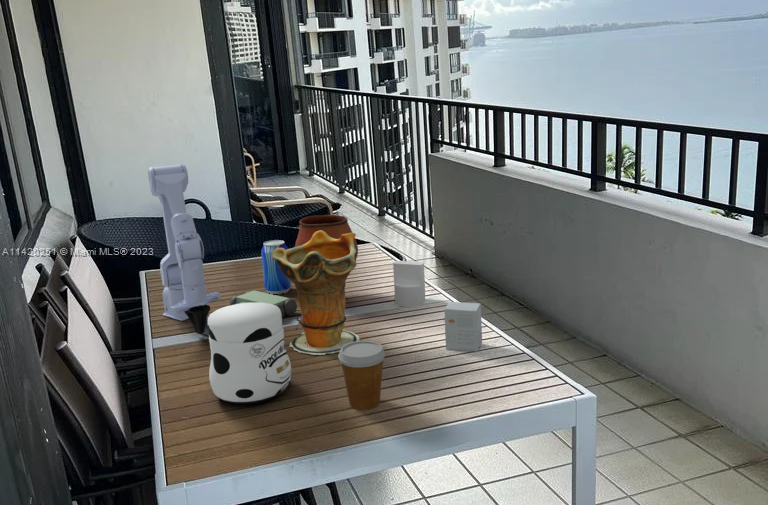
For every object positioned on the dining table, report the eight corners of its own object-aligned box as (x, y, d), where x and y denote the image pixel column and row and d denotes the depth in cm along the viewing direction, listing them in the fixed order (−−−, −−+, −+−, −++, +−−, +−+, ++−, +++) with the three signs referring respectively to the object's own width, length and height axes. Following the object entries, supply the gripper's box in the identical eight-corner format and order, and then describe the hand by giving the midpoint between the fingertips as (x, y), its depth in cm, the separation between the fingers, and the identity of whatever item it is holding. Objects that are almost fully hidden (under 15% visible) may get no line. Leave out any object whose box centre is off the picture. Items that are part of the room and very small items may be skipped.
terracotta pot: (338, 313, 195) (332, 227, 189) (284, 305, 205) (277, 223, 198) (372, 293, 211) (368, 214, 205) (321, 286, 221) (315, 210, 214)
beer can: (286, 295, 214) (282, 245, 210) (261, 295, 215) (256, 245, 211) (295, 287, 222) (291, 239, 217) (270, 287, 223) (266, 239, 219)
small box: (482, 343, 168) (481, 303, 166) (477, 352, 163) (477, 310, 161) (450, 341, 171) (449, 301, 168) (445, 349, 166) (443, 308, 163)
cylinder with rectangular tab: (390, 305, 199) (388, 266, 196) (401, 296, 207) (399, 257, 204) (419, 308, 196) (418, 267, 193) (429, 298, 204) (428, 259, 201)
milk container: (299, 402, 143) (291, 321, 138) (214, 417, 138) (203, 333, 134) (286, 370, 159) (279, 296, 154) (210, 382, 154) (200, 307, 150)
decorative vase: (264, 355, 167) (256, 242, 161) (306, 326, 188) (301, 226, 182) (342, 363, 160) (337, 246, 154) (377, 333, 181) (374, 228, 175)
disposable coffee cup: (341, 394, 145) (337, 341, 142) (385, 390, 146) (383, 338, 143) (342, 415, 136) (338, 359, 133) (389, 411, 137) (386, 356, 134)
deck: (217, 316, 198) (215, 302, 196) (254, 302, 208) (253, 288, 207) (260, 328, 187) (259, 312, 185) (297, 312, 197) (296, 297, 196)
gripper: (179, 293, 170) (186, 344, 174) (225, 278, 181) (231, 326, 185) (162, 289, 175) (169, 339, 178) (208, 275, 186) (214, 322, 189)
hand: (199, 332), depth 182 cm, fingers closed
